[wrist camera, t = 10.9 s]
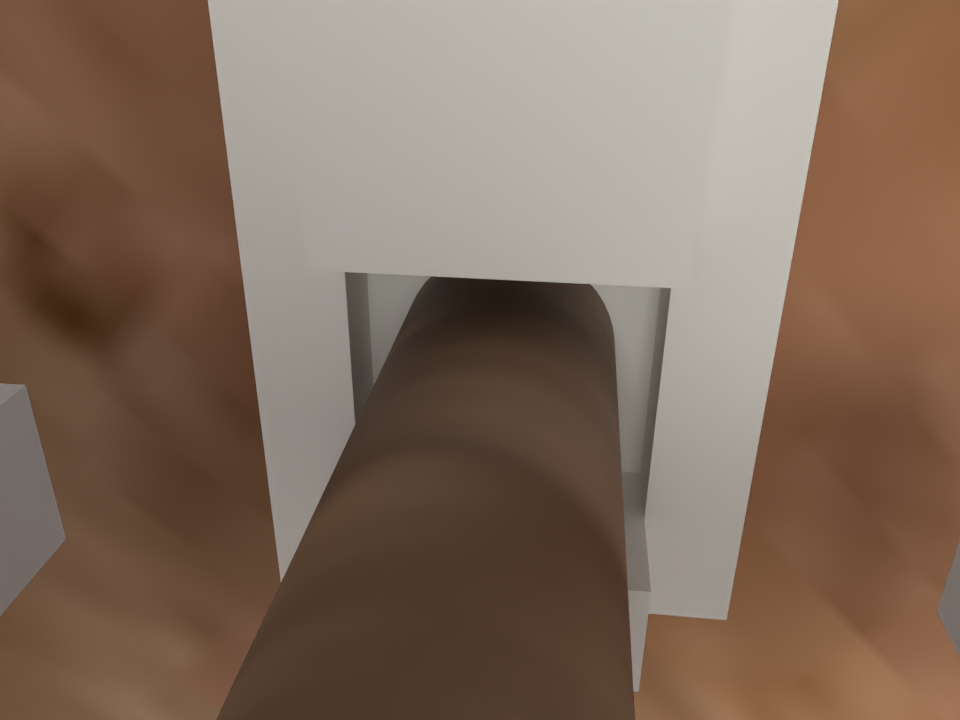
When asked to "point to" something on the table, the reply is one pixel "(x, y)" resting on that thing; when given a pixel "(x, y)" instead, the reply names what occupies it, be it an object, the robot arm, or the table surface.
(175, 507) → the table surface
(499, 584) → the dowel
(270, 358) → the socket block
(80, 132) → the table surface
